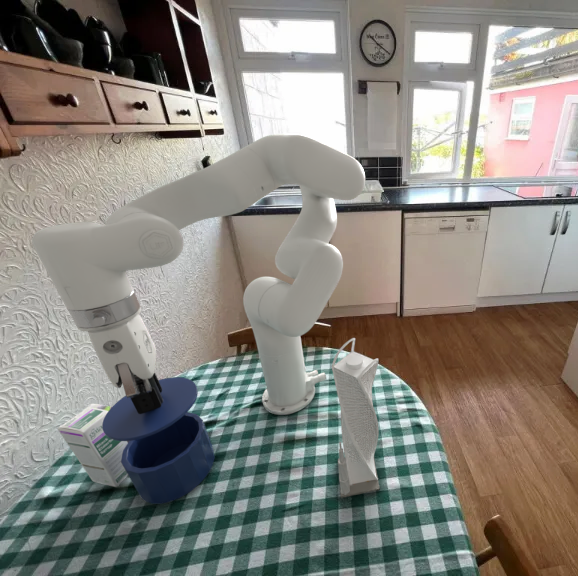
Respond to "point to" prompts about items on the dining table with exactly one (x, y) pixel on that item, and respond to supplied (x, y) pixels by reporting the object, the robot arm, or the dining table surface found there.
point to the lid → (133, 426)
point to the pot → (170, 460)
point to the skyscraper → (356, 422)
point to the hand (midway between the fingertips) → (151, 401)
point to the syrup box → (95, 445)
